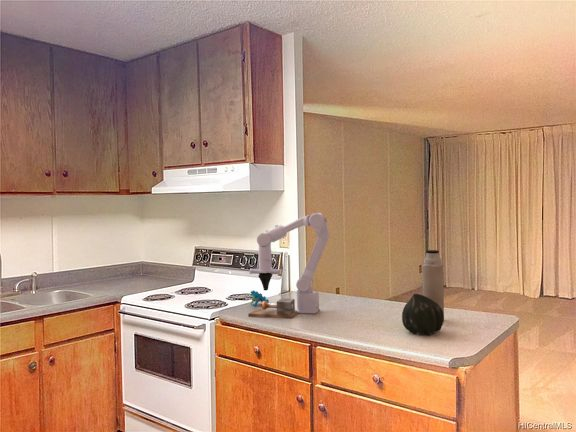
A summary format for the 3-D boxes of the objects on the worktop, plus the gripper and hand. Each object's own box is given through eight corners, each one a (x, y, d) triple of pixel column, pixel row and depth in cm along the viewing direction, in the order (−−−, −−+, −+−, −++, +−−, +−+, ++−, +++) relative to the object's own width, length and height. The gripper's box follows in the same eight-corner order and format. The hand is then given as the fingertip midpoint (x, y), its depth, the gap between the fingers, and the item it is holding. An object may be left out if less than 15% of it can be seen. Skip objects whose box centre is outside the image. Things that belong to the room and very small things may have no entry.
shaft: (293, 309, 203) (293, 301, 203) (291, 311, 200) (291, 303, 199) (264, 308, 207) (264, 300, 207) (262, 310, 203) (261, 302, 203)
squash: (457, 317, 171) (430, 284, 177) (440, 328, 160) (412, 292, 165) (430, 337, 178) (405, 305, 184) (412, 349, 167) (386, 314, 173)
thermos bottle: (425, 317, 194) (424, 249, 192) (446, 319, 189) (445, 249, 188) (420, 321, 187) (419, 251, 186) (441, 323, 183) (440, 251, 182)
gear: (273, 302, 221) (258, 289, 218) (266, 312, 218) (251, 299, 215) (261, 301, 230) (247, 289, 227) (255, 311, 227) (240, 299, 224)
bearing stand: (297, 313, 205) (297, 298, 205) (292, 318, 197) (291, 302, 197) (255, 311, 211) (255, 297, 211) (248, 316, 202) (247, 301, 202)
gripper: (246, 260, 209) (247, 291, 209) (277, 261, 205) (278, 292, 205) (252, 258, 216) (253, 288, 216) (282, 259, 212) (283, 289, 212)
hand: (265, 290), depth 211 cm, fingers closed
